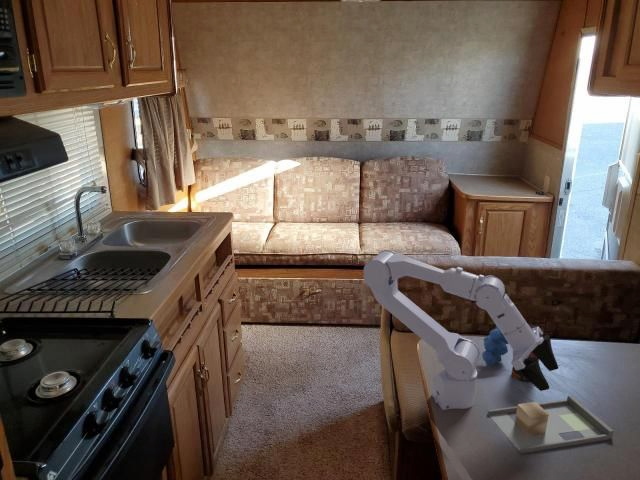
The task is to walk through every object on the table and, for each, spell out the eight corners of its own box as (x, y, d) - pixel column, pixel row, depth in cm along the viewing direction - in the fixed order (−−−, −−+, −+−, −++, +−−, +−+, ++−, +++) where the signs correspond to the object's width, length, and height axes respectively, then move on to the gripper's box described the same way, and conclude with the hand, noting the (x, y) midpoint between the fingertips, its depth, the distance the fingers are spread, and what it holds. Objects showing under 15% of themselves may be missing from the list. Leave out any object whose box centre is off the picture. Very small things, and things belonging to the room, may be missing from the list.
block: (527, 436, 105) (530, 417, 104) (514, 423, 109) (517, 404, 108) (545, 433, 106) (548, 414, 105) (532, 420, 110) (535, 401, 109)
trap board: (520, 459, 101) (522, 445, 100) (486, 419, 113) (488, 406, 112) (610, 444, 105) (613, 430, 104) (568, 407, 117) (571, 395, 116)
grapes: (493, 350, 143) (498, 313, 139) (514, 360, 138) (519, 322, 134) (469, 363, 136) (473, 324, 132) (490, 374, 131) (495, 334, 127)
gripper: (519, 338, 99) (557, 394, 98) (538, 305, 109) (574, 356, 109) (490, 348, 104) (527, 401, 103) (512, 315, 114) (546, 364, 114)
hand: (549, 379), depth 106 cm, fingers open, 7 cm apart
